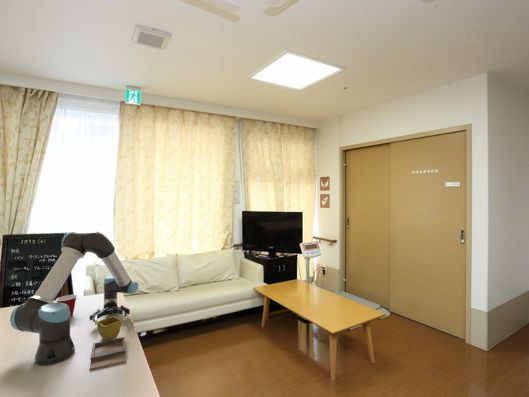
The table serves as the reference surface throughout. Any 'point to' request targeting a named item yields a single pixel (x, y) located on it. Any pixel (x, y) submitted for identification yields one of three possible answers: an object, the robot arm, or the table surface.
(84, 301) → the table surface
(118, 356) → the tray
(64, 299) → the plastic cup
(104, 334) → the flower pot
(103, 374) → the table surface
